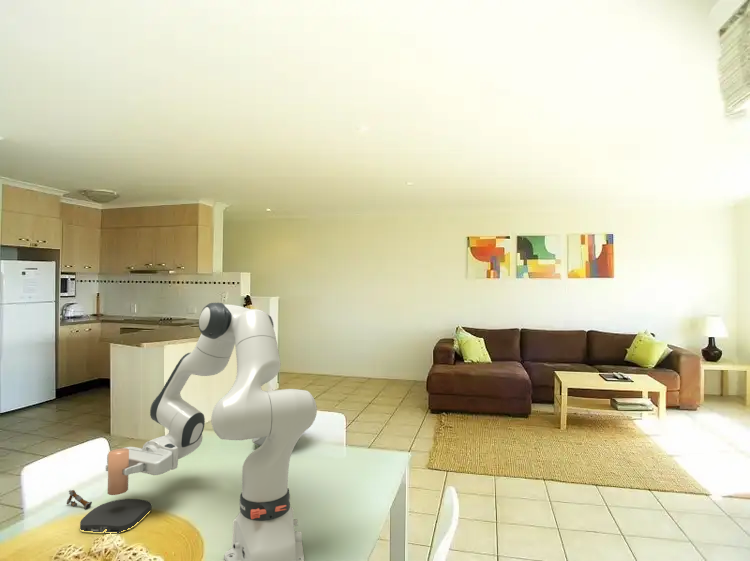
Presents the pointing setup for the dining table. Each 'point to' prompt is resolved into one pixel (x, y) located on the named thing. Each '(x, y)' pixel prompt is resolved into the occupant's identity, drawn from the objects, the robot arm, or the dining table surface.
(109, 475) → the salmon orange cylinder
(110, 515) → the media streaming box
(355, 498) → the dining table surface
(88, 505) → the brown grey jointed tubes
